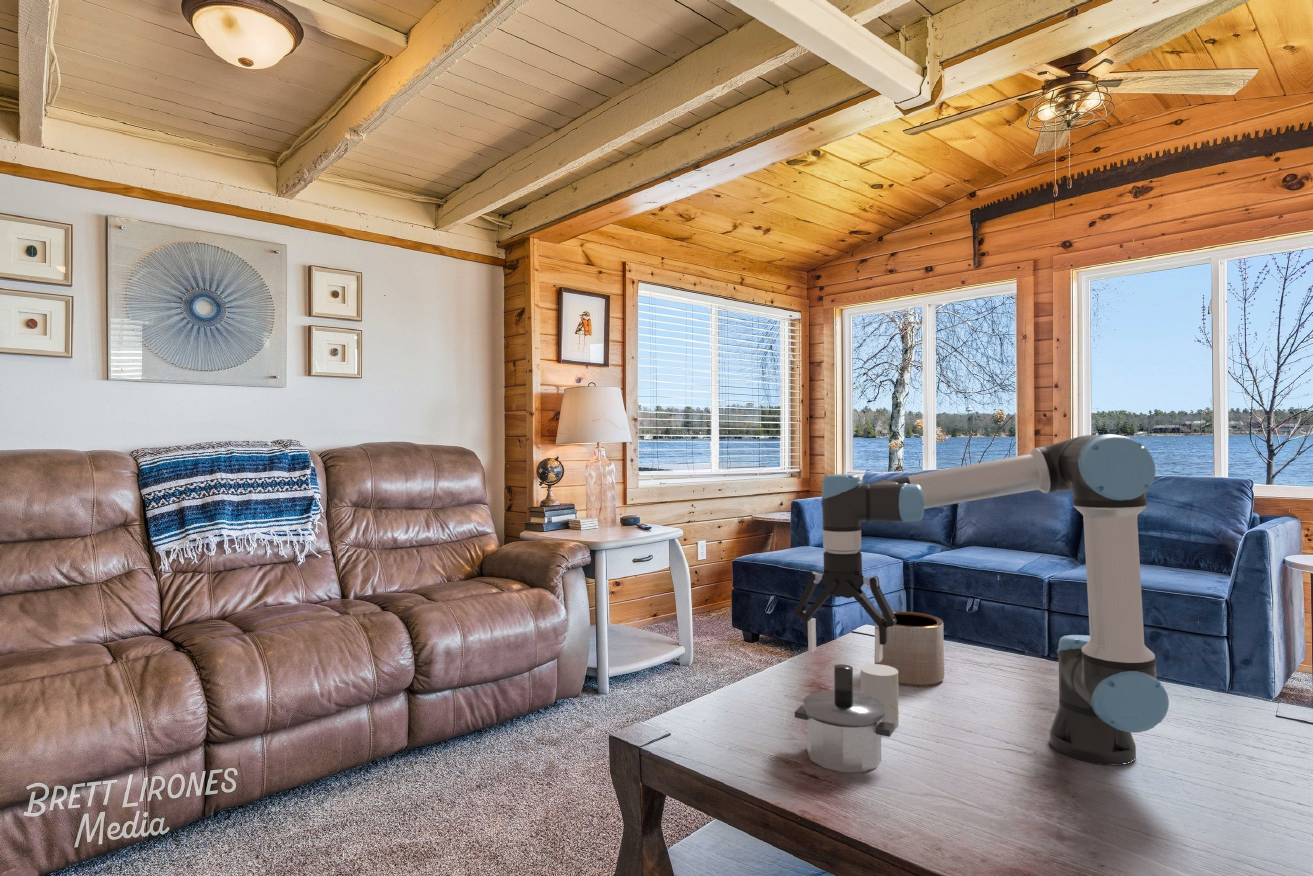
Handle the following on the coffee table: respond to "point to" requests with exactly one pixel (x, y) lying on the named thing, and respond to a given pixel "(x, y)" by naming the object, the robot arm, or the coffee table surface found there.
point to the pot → (844, 744)
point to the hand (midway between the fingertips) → (844, 655)
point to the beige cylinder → (882, 688)
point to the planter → (915, 649)
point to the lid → (844, 703)
